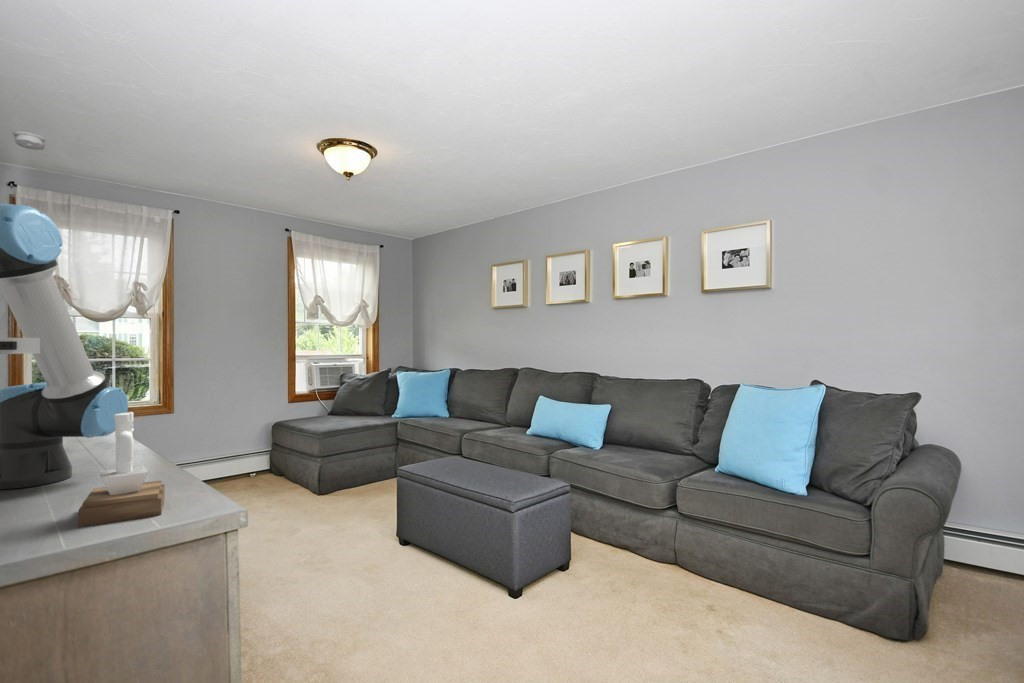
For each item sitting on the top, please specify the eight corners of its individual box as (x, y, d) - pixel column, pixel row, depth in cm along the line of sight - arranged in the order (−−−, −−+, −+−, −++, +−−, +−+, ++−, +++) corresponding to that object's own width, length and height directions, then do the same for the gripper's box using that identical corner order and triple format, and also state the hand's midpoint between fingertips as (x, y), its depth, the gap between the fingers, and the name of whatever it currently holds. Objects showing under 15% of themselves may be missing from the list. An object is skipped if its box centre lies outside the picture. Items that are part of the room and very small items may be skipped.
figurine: (101, 500, 92) (101, 416, 93) (99, 489, 100) (99, 412, 100) (149, 492, 97) (149, 413, 97) (144, 482, 104) (144, 408, 104)
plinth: (90, 508, 100) (90, 488, 100) (164, 498, 107) (164, 479, 107) (78, 526, 90) (78, 504, 90) (161, 514, 96) (161, 493, 96)
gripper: (-190, 370, 80) (-5, 365, 99) (-148, 374, 68) (53, 367, 87) (-190, 323, 80) (-5, 326, 99) (-147, 317, 68) (53, 323, 87)
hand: (22, 345), depth 93 cm, fingers open, 13 cm apart
